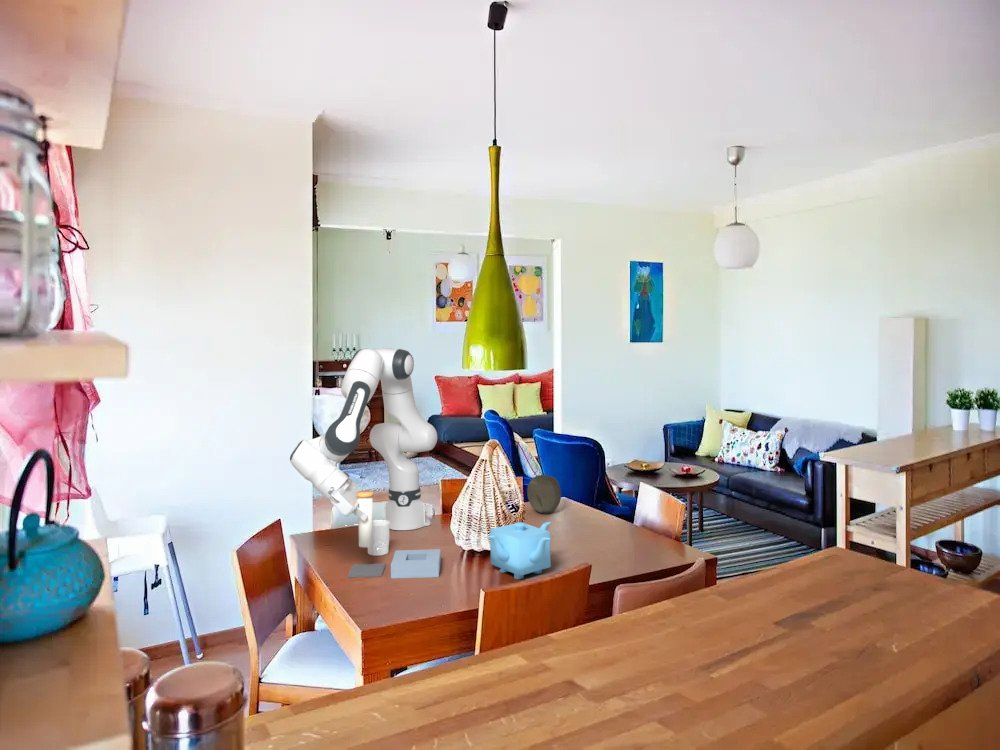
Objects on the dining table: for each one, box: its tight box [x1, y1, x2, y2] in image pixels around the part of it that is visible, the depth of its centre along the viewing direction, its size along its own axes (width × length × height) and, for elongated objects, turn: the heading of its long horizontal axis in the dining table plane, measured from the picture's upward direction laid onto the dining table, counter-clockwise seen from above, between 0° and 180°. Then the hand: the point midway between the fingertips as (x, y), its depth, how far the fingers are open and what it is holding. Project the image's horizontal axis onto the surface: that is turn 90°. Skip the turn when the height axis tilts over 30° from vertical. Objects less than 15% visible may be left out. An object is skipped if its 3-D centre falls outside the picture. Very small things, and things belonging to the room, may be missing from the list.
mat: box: [347, 562, 387, 578], centre depth 211 cm, size 10×10×1 cm
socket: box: [390, 548, 442, 579], centre depth 211 cm, size 14×14×4 cm
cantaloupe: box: [526, 474, 562, 515], centre depth 277 cm, size 14×14×15 cm
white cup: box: [367, 519, 391, 557], centre depth 228 cm, size 8×8×10 cm
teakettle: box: [486, 521, 552, 580], centre depth 208 cm, size 19×19×15 cm
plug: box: [357, 489, 374, 548], centre depth 210 cm, size 5×5×16 cm
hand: (367, 516), depth 210 cm, fingers closed on plug, 4 cm apart
